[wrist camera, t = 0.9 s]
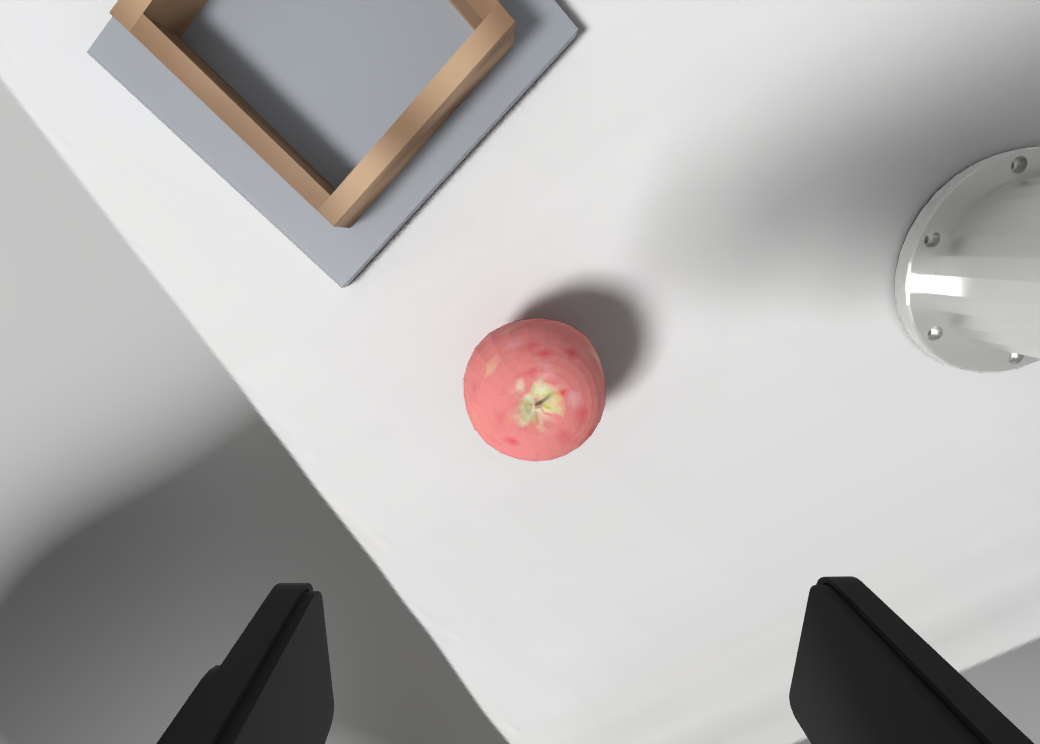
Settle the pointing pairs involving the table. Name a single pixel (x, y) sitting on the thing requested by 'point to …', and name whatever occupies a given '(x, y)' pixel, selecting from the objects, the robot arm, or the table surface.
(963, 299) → the robot arm
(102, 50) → the tray
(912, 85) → the table surface
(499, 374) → the apple
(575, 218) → the table surface
